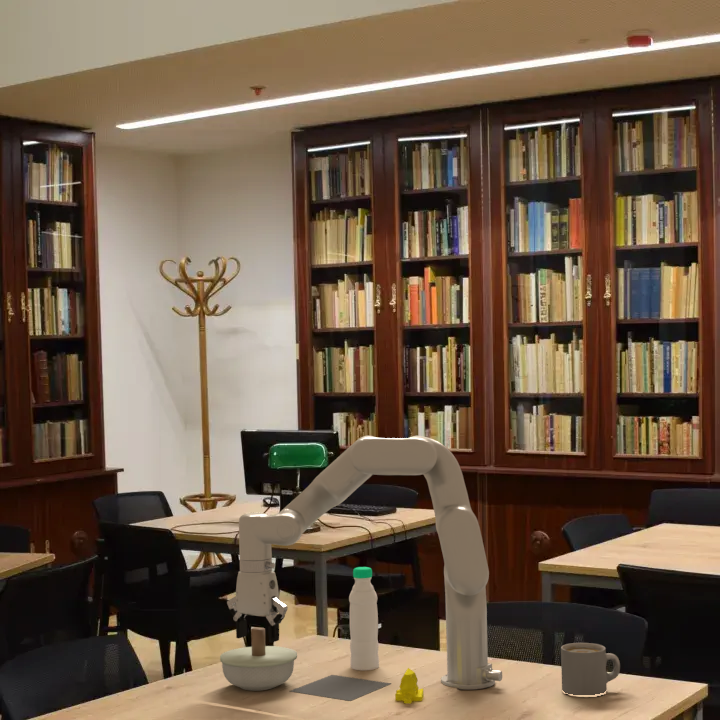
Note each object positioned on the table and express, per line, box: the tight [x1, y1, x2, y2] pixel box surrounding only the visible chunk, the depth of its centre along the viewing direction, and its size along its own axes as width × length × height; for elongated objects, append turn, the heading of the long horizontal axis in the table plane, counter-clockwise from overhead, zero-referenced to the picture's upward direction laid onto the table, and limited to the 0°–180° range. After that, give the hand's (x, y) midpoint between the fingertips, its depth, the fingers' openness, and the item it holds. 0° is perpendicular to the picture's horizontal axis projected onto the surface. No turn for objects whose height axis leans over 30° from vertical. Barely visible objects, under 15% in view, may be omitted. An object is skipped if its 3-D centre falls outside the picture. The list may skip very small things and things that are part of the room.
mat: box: [289, 674, 392, 702], centre depth 273 cm, size 17×17×1 cm
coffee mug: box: [560, 642, 621, 695], centre depth 266 cm, size 13×10×10 cm
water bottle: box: [348, 566, 380, 671], centre depth 292 cm, size 7×7×25 cm
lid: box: [219, 627, 298, 667], centre depth 277 cm, size 18×18×7 cm
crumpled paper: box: [394, 667, 425, 705], centre depth 262 cm, size 6×8×8 cm
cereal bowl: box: [221, 660, 295, 692], centre depth 277 cm, size 17×17×7 cm
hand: (257, 639), depth 277 cm, fingers open, 9 cm apart
